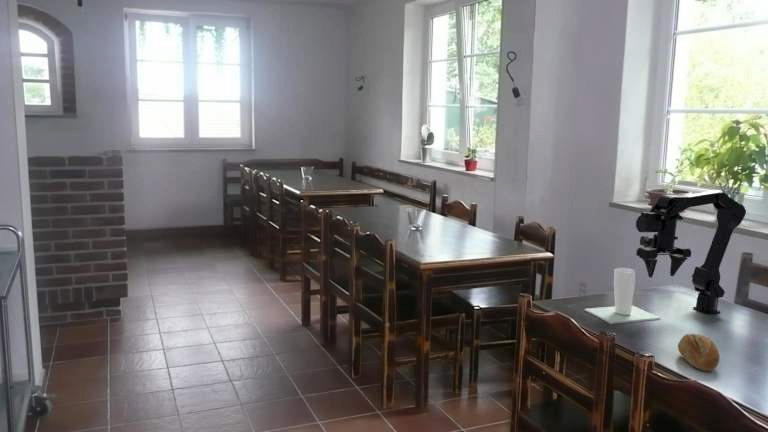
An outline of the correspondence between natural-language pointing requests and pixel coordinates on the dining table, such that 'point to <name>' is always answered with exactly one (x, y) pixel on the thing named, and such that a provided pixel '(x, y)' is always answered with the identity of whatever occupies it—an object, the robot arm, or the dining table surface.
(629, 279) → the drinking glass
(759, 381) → the dining table surface
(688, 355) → the bread roll
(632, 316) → the pad
